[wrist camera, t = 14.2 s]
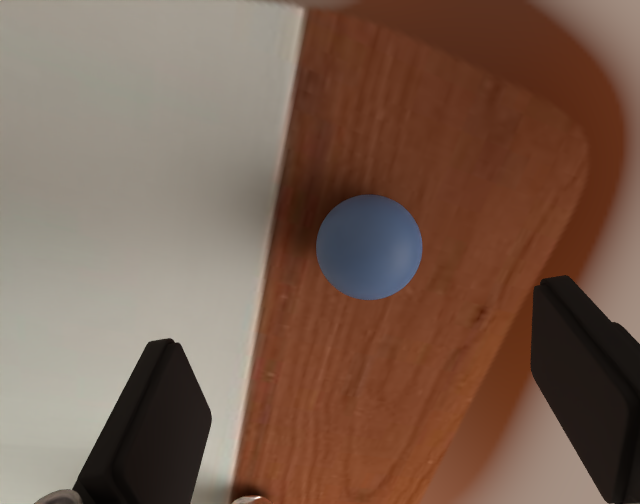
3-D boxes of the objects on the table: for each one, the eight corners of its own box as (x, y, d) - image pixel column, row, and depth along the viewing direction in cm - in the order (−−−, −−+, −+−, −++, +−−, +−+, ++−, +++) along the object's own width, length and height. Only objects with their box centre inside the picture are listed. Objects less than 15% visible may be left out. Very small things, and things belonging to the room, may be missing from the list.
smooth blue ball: (353, 160, 16) (358, 200, 13) (433, 212, 17) (456, 261, 14) (300, 236, 18) (292, 288, 15) (375, 279, 19) (384, 338, 16)
